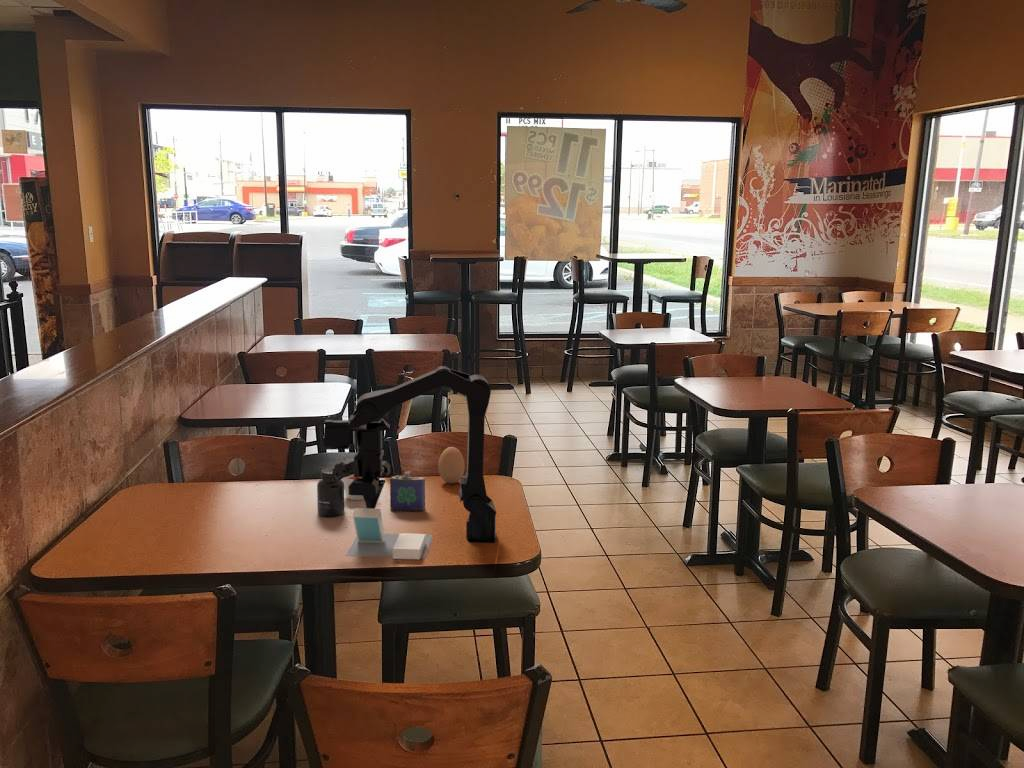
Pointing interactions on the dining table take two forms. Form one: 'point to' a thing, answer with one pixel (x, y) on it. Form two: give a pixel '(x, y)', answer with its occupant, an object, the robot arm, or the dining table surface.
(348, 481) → the candle
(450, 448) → the egg
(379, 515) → the tile
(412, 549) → the tile
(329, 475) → the supplement bottle
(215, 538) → the dining table surface
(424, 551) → the mat
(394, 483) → the flask
